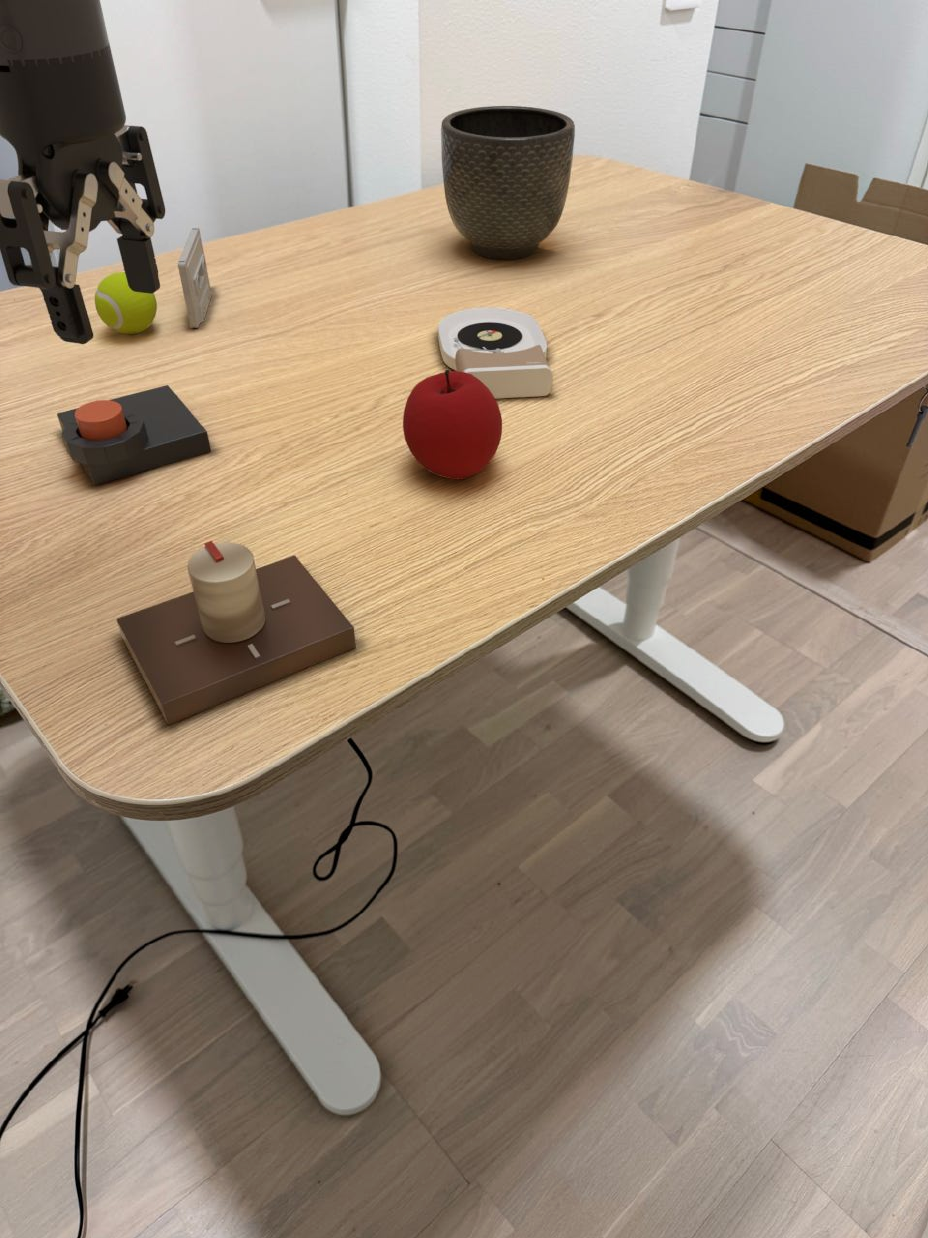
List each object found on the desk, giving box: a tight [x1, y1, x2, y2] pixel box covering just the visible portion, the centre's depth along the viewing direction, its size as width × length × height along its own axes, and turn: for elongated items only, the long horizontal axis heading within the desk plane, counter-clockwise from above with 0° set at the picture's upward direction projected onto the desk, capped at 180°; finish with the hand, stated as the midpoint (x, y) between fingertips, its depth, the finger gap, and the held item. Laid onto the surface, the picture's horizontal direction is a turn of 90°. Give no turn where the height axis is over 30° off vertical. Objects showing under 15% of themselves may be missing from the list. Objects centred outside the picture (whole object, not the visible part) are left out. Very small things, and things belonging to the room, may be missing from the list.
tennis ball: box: [94, 271, 158, 335], centre depth 104 cm, size 7×7×7 cm
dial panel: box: [115, 554, 357, 726], centre depth 65 cm, size 14×10×2 cm
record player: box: [437, 306, 554, 400], centre depth 100 cm, size 12×3×20 cm
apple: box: [402, 369, 503, 480], centre depth 81 cm, size 9×9×10 cm
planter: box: [440, 105, 576, 261], centre depth 121 cm, size 17×17×16 cm
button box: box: [56, 384, 212, 486], centre depth 85 cm, size 12×12×4 cm
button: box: [75, 399, 127, 441], centre depth 81 cm, size 4×4×2 cm
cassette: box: [177, 227, 213, 329], centre depth 108 cm, size 12×2×8 cm, turn 5°
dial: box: [186, 540, 265, 643], centre depth 63 cm, size 4×4×6 cm
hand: (113, 314), depth 63 cm, fingers open, 8 cm apart
